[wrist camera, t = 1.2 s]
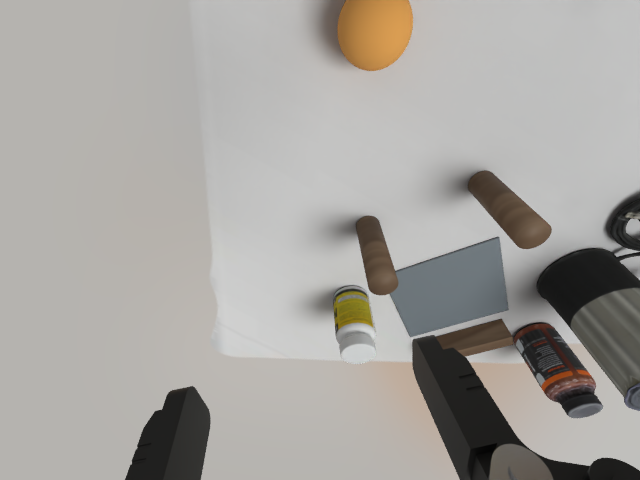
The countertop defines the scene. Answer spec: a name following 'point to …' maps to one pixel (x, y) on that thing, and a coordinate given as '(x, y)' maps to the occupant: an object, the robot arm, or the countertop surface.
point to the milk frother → (602, 305)
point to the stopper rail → (478, 338)
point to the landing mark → (452, 288)
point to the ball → (374, 32)
